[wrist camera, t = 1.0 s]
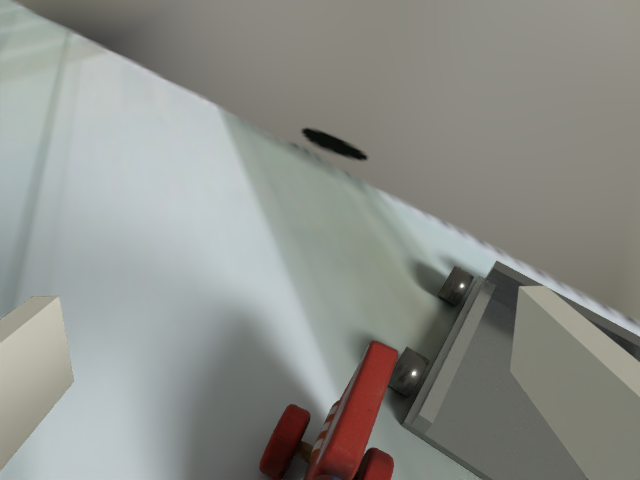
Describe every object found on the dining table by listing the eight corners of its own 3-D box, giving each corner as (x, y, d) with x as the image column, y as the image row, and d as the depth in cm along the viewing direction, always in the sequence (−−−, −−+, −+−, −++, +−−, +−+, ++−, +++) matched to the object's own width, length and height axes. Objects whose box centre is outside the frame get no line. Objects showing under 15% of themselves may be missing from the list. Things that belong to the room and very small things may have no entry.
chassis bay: (372, 406, 34) (388, 377, 32) (454, 268, 47) (469, 240, 44) (661, 598, 29) (706, 581, 26) (664, 384, 42) (695, 359, 39)
